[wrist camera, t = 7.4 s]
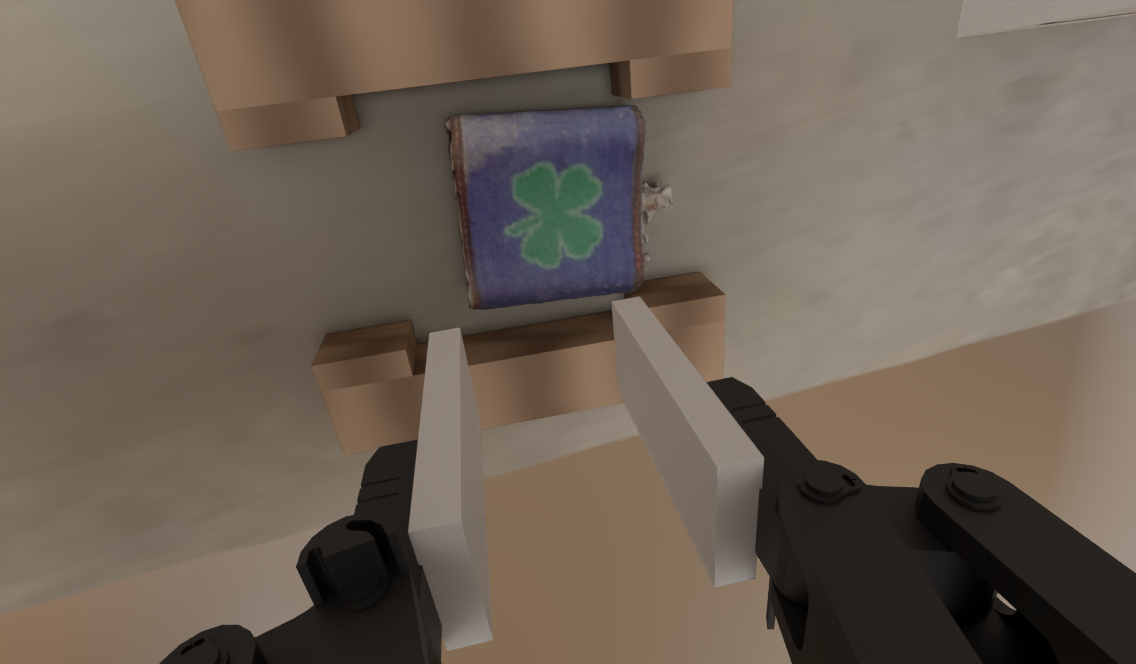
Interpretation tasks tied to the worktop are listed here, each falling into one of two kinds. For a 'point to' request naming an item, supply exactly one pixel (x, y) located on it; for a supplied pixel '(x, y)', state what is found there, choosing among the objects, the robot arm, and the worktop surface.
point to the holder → (441, 55)
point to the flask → (552, 203)
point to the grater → (1034, 14)
